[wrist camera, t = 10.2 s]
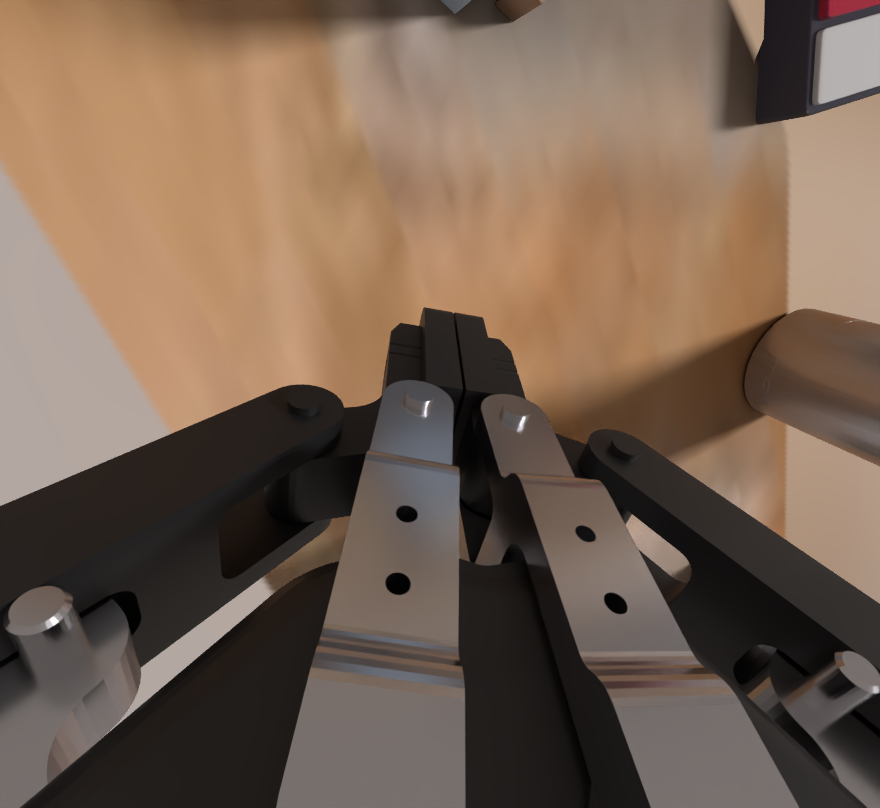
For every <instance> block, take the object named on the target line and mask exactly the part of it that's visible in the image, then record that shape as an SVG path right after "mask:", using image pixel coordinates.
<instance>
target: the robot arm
mask: <svg viewBox="0 0 880 808" xmlns="http://www.w3.org/2000/svg"><path fill="white" fill-rule="evenodd" d="M744 387H745V395H746V398H747V400H748V403H749V404H750V405H751V406H752V407H753V408H754V409H756V410H757V411H759V412H761V413H763V414H766V415H768V416H770V417H772V418H775V419H777V420H779V421H781V422H783V423H786V424H788V425H790V426H792V427H794V428H797V429H799V430H801V431H803V432H805V433H807V434H810V435H812V436H814V437H816V438H818V439H820V440H823V441H825V442H827V443H829V444H832V445H834V446H836V447H838V448H840V449H843V450H845V451H847V452H849V453H852V454H854V455H856V456H858V457H860V458H862V459H865V460H867V461H869V462H871V463H874V464H876V465H878V466H880V324H876V323H872V322H867V321H864V320H860V319H855V318H851V317H846V316H842V315H837V314H833V313H829V312H824V311H820V310H815V309H801V310H797V311H794V312H792V313H790V314H788V315H786V316H785V317H783V318H782V319H780V320H779V321H778V322H776V323H775V324H774V325H773V326H772V327H771V328H770V329H769V330H768V331H767V332H766V334H765V335H764V336H763V338H762V339H761V340H760V342H759V343H758V345H757V347H756V348H755V350H754V352H753V354H752V356H751V358H750V361H749V363H748V366H747V370H746V374H745V384H744ZM632 514H633V515H634V516H635V517H637V518H638V519H639V520H640V521H642V522H643V523H644V524H646V525H647V526H648V527H649V528H651V529H652V530H653V531H654V532H656V533H657V534H658V535H660V536H661V537H662V538H663V539H665V540H666V541H667V542H668V543H670V544H671V545H672V546H674V547H675V548H676V549H677V550H679V551H680V552H681V553H682V554H683V555H684V556H685V557H686V558H687V559H688V561H689V563H690V565H691V568H692V577H691V579H690V581H689V582H688V583H685V582H680V581H677V580H676V579H674V578H672V577H671V576H670V575H669V574H667V573H666V572H665V571H664V570H663V569H661V568H660V567H659V566H658V565H656V564H655V563H654V562H653V561H652V560H650V559H649V558H648V557H647V556H646V555H644V554H643V553H642V552H641V551H640V550H638V548H637V546H636V544H635V542H634V541H633V539H632V537H631V535H630V533H629V531H628V529H627V527H626V525H625V524H626V523H627V521H628V520H629V518H630V516H631V515H632ZM350 515H351V517H350V521H349V525H348V529H347V533H346V537H345V541H344V545H343V549H342V553H341V557H340V561H338V562H334V563H330V564H327V565H324V566H321V567H319V568H316V569H313V570H311V571H309V572H307V573H305V574H303V575H301V576H299V577H297V578H295V579H294V580H292V581H291V582H289V583H288V584H286V585H285V586H283V587H282V588H280V589H279V590H278V591H276V592H275V593H274V594H273V595H271V596H270V597H269V598H268V599H267V600H265V601H264V602H263V603H262V604H261V605H260V606H258V607H257V608H256V609H255V610H254V611H252V612H251V613H250V614H249V615H248V616H246V617H245V618H244V619H243V620H242V621H241V622H240V623H238V624H237V625H236V626H235V627H233V628H232V629H231V630H230V631H229V632H228V633H226V634H225V635H224V636H223V637H222V638H220V639H219V640H218V641H217V642H216V643H214V644H213V645H212V646H211V647H210V648H209V649H207V650H206V651H205V652H204V653H203V654H201V655H200V656H199V657H198V658H197V659H196V660H194V661H193V662H192V663H191V664H190V665H189V666H187V667H186V668H185V669H184V670H183V671H181V672H180V673H179V674H178V675H177V676H175V677H174V678H173V679H172V680H171V681H169V682H168V683H167V684H166V685H165V686H164V687H162V688H161V689H160V690H159V691H158V692H156V693H155V694H154V695H153V696H152V697H151V698H149V699H148V700H147V701H146V702H145V703H143V704H142V705H141V706H140V707H139V708H137V709H136V710H135V711H134V712H133V713H132V714H131V715H129V716H128V717H127V718H126V719H124V720H123V721H122V722H121V723H120V724H119V725H117V726H116V727H115V728H114V729H113V730H112V731H110V729H112V727H114V726H115V724H117V723H118V722H119V721H120V719H121V718H122V717H123V716H124V715H125V713H126V712H127V711H128V709H129V707H130V706H131V704H132V703H133V701H134V699H135V696H136V694H137V692H138V688H139V685H140V679H141V669H140V668H141V667H142V666H143V665H145V664H146V663H147V662H149V661H150V660H151V659H153V658H154V657H156V656H157V655H158V654H159V653H161V652H162V651H163V650H165V649H166V648H168V647H169V646H170V645H172V644H173V643H174V642H176V641H177V640H178V639H180V638H181V637H182V636H184V635H185V634H186V633H188V632H189V631H190V630H192V629H193V628H194V627H196V626H197V625H198V624H200V623H201V622H202V621H204V620H205V619H207V618H208V617H209V616H211V615H212V614H213V613H215V612H216V611H217V610H219V609H220V608H221V607H223V606H224V605H225V604H227V603H228V602H229V601H231V600H232V599H233V598H235V597H236V596H237V595H239V594H240V593H242V592H243V591H244V590H246V589H247V588H248V587H250V586H251V585H252V584H254V583H255V582H256V581H258V580H259V579H260V578H262V577H263V576H264V575H266V574H267V573H268V572H270V571H271V570H272V569H274V568H275V567H277V566H278V565H279V564H281V563H282V562H283V561H285V560H286V559H287V558H289V557H290V556H291V555H293V554H294V553H295V552H297V551H298V550H299V549H301V548H302V547H303V546H305V545H306V544H307V543H309V542H310V541H311V540H313V539H314V538H315V537H317V536H318V535H320V534H321V533H322V532H323V531H324V530H326V528H327V527H328V526H329V524H330V522H331V519H332V518H338V517H344V516H350ZM459 554H460V558H459ZM108 731H110V732H109V733H108V734H107V735H105V734H106V733H107V732H108ZM104 735H105V736H104ZM103 736H104V737H103ZM102 737H103V738H102ZM101 738H102V739H101ZM100 739H101V740H100ZM99 740H100V741H99ZM0 808H880V604H879V603H878V602H876V601H875V600H873V599H872V598H870V597H869V596H867V595H866V594H864V593H863V592H861V591H860V590H858V589H857V588H856V587H854V586H853V585H851V584H850V583H848V582H847V581H845V580H844V579H842V578H841V577H839V576H838V575H837V574H835V573H834V572H832V571H831V570H829V569H828V568H826V567H825V566H823V565H822V564H820V563H819V562H817V561H816V560H815V559H813V558H811V557H810V556H809V555H807V554H806V553H804V552H803V551H801V550H800V549H798V548H797V547H795V546H794V545H793V544H791V543H790V542H788V541H787V540H785V539H784V538H782V537H781V536H779V535H778V534H776V533H775V532H773V531H772V530H771V529H769V528H768V527H766V526H765V525H763V524H762V523H760V522H759V521H757V520H756V519H754V518H753V517H751V516H750V515H748V514H747V513H746V512H744V511H743V510H741V509H740V508H738V507H737V506H735V505H734V504H732V503H731V502H729V501H728V500H726V499H725V498H724V497H722V496H721V495H719V494H718V493H716V492H715V491H713V490H712V489H710V488H709V487H707V486H706V485H704V484H703V483H702V482H700V481H699V480H697V479H696V478H694V477H693V476H691V475H690V474H688V473H687V472H685V471H684V470H682V469H681V468H680V467H678V466H677V465H675V464H674V463H672V462H671V461H669V460H668V459H666V458H665V457H663V456H662V455H660V454H659V453H658V452H656V451H655V450H653V449H652V448H650V447H649V446H647V445H646V444H644V443H643V442H641V441H640V440H638V439H636V438H635V437H633V436H631V435H628V434H626V433H623V432H620V431H616V430H609V429H603V430H598V431H595V432H593V433H592V434H591V435H590V437H589V439H588V441H587V443H586V444H583V443H580V442H578V441H575V440H572V439H569V438H566V437H563V436H561V435H558V434H556V433H554V431H553V429H552V427H551V424H550V422H549V420H548V418H547V416H546V414H545V413H544V412H543V411H542V410H541V409H540V408H539V407H538V406H537V405H535V404H534V403H532V402H530V401H528V400H526V398H525V395H524V391H523V388H522V385H521V382H520V379H519V375H518V374H517V369H516V366H515V365H514V359H513V356H512V353H511V351H510V350H509V348H508V347H507V346H506V345H505V344H504V343H503V342H502V341H501V340H500V339H494V338H488V336H487V332H486V328H485V324H484V320H483V318H482V317H477V316H472V315H466V314H460V313H454V314H453V313H452V312H448V311H442V310H436V309H431V308H425V307H424V308H423V311H422V315H421V320H420V325H419V326H416V325H410V324H404V323H400V324H399V325H398V326H397V327H395V328H394V329H393V330H392V331H391V336H390V342H389V348H388V354H387V360H386V367H385V373H384V379H383V386H382V396H381V397H380V398H379V399H378V400H376V401H375V402H373V403H370V404H367V405H364V406H359V407H348V408H344V406H343V403H342V401H341V400H340V399H339V398H338V397H337V396H336V395H335V394H334V393H332V392H330V391H328V390H326V389H324V388H321V387H317V386H312V385H290V386H285V387H282V388H279V389H276V390H274V391H272V392H269V393H267V394H264V395H262V396H260V397H257V398H255V399H253V400H250V401H248V402H246V403H243V404H241V405H238V406H236V407H234V408H231V409H229V410H227V411H224V412H222V413H220V414H217V415H215V416H212V417H210V418H208V419H205V420H203V421H201V422H198V423H196V424H194V425H191V426H189V427H186V428H184V429H182V430H179V431H177V432H175V433H172V434H170V435H168V436H165V437H163V438H161V439H158V440H156V441H154V442H151V443H149V444H146V445H144V446H142V447H139V448H137V449H135V450H132V451H130V452H127V453H125V454H123V455H121V456H118V457H115V458H113V459H111V460H108V461H106V462H104V463H101V464H99V465H97V466H94V467H92V468H90V469H87V470H85V471H82V472H80V473H78V474H75V475H73V476H71V477H68V478H66V479H64V480H61V481H59V482H56V483H54V484H52V485H49V486H47V487H45V488H42V489H40V490H38V491H35V492H33V493H30V494H28V495H26V496H23V497H21V498H19V499H16V500H14V501H12V502H9V503H7V504H4V505H2V506H0Z"/></svg>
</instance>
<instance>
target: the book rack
mask: <svg viewBox="0 0 880 808" xmlns="http://www.w3.org/2000/svg"><path fill="white" fill-rule="evenodd" d="M543 1H544V0H496V2H495V5H496V6H497V7H498V8H499V9H500V10H501V11H502V12H503V13H504V14H505V15H506V16H507V17H508V18H509V19H510V20H511V22H513V21H515V20H517V19H518V18H520V17H521V16H523V15H525V14H526V13H528V12H529V11H531V10H533V9H534V8H536V7H538V6H539V5H541V4H542V3H543Z"/></svg>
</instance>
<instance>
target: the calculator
mask: <svg viewBox="0 0 880 808" xmlns="http://www.w3.org/2000/svg"><path fill="white" fill-rule="evenodd" d="M764 21H765V22H764V40H763V42H762V45H761V47H760V49H759V51H758V54H757V56H756V57H757V59H758V61H759V71H758V88H757V106H756V122H757V123H758V124H765V123H771V122H777V121H782V120H788V119H794V118H799V117H805V116H809V115H813V114H816V113H819V112H822V111H825V110H828V109H832V108H835V107H838V106H841V105H844V104H847V103H850V102H853V101H857V100H860V99H863V98H866V97H869V96H872V95H875V94H879V93H880V0H765V19H764Z"/></svg>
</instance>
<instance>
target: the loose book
mask: <svg viewBox="0 0 880 808" xmlns="http://www.w3.org/2000/svg"><path fill="white" fill-rule="evenodd" d="M441 1H442V2H443V3H444V4H445V5H446V6H447V7H448V8H449V9H450V10H451V11H452V12H453V13H454V14H456V13H457V12H458V11H459V10H461V9H462V8H463V7H464V6H465V5H467V4H468V3H469V2H470V1H471V0H441Z"/></svg>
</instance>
